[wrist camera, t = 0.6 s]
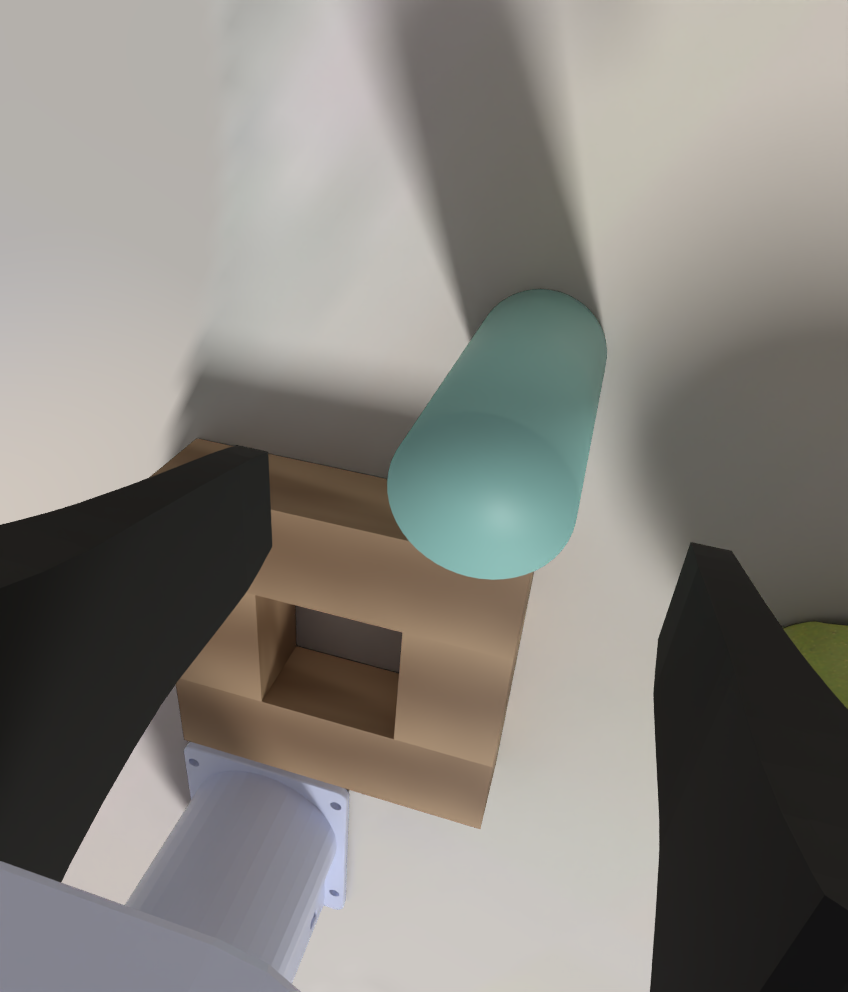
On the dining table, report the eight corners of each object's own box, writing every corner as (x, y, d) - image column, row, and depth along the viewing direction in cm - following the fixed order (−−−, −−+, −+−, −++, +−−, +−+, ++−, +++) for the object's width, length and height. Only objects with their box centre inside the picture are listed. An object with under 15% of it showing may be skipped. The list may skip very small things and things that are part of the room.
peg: (592, 425, 21) (558, 597, 14) (469, 401, 21) (382, 556, 15) (619, 300, 19) (595, 434, 12) (483, 279, 20) (392, 395, 13)
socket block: (495, 763, 29) (480, 829, 27) (222, 685, 31) (184, 739, 29) (545, 512, 23) (531, 569, 20) (196, 438, 25) (145, 480, 22)
